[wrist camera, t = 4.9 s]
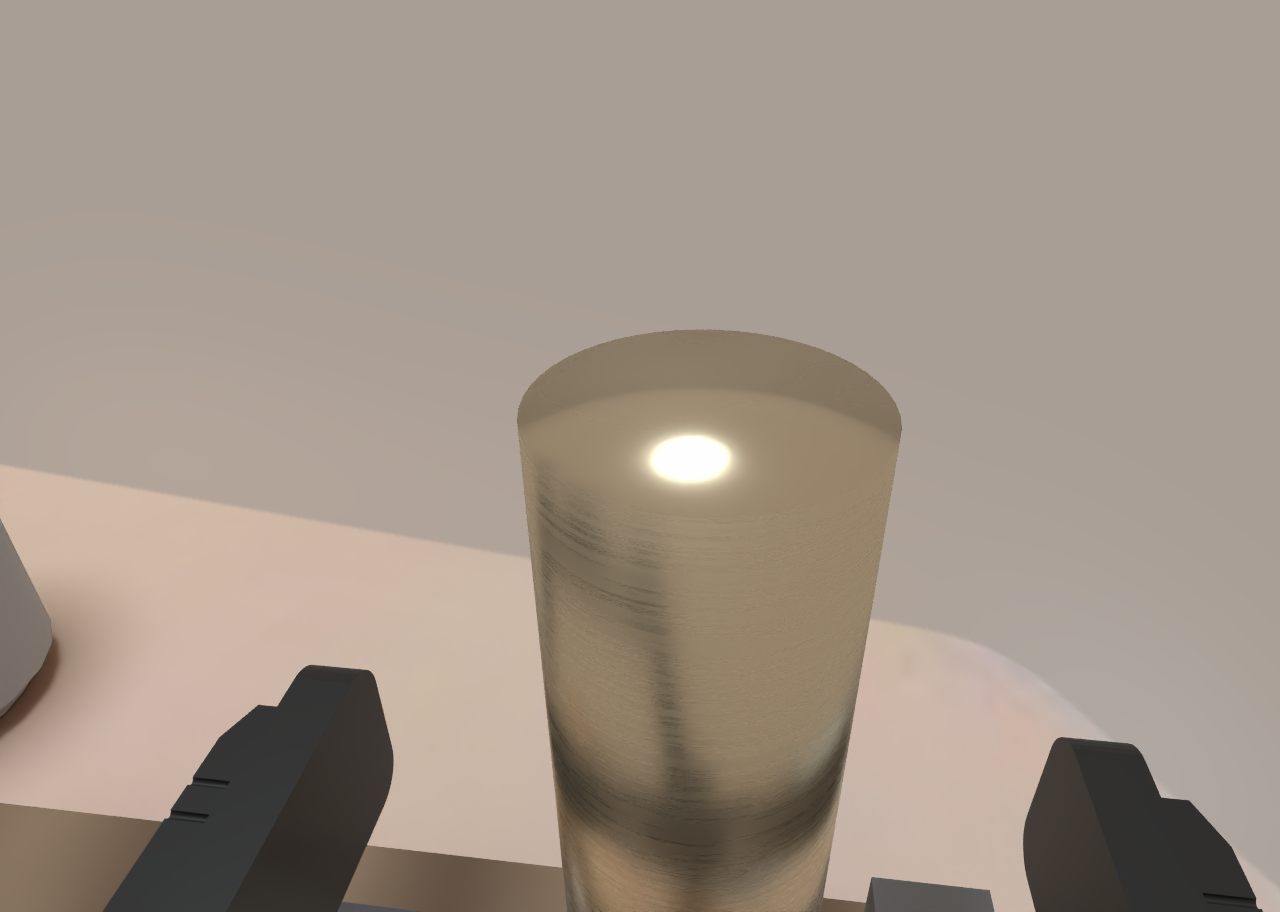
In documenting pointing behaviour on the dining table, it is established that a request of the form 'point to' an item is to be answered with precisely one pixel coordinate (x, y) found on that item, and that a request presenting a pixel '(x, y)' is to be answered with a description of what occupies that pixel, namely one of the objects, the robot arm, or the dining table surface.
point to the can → (19, 626)
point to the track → (412, 880)
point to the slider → (702, 610)
